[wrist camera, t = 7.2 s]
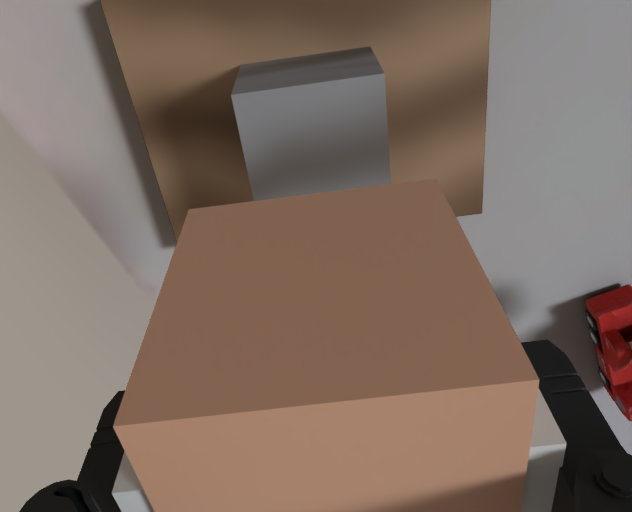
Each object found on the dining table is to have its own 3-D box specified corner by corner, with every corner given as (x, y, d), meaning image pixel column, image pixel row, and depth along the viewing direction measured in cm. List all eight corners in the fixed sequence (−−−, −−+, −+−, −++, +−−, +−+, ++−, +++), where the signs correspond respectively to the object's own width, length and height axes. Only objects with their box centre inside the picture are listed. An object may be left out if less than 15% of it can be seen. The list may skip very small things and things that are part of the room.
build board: (108, -7, 26) (60, 17, 21) (484, -63, 25) (535, -54, 20) (184, 239, 34) (163, 303, 28) (474, 201, 33) (510, 260, 28)
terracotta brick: (188, 208, 14) (113, 426, 8) (435, 178, 14) (539, 379, 8) (238, 383, 18) (209, 624, 12) (436, 361, 17) (509, 595, 11)
